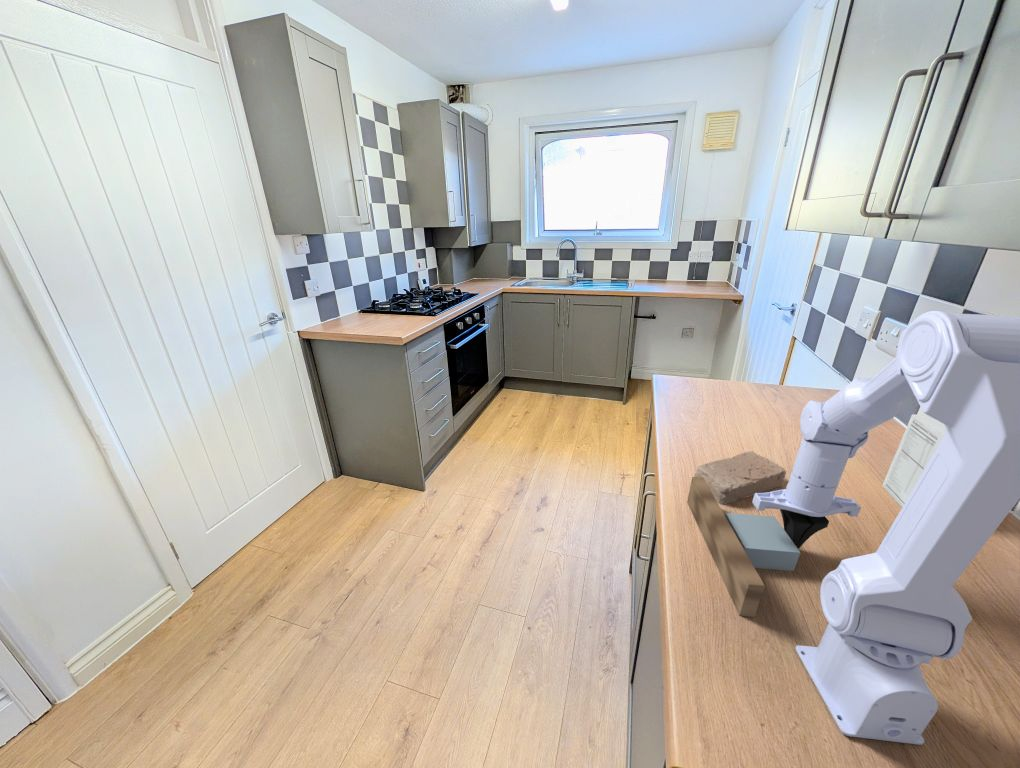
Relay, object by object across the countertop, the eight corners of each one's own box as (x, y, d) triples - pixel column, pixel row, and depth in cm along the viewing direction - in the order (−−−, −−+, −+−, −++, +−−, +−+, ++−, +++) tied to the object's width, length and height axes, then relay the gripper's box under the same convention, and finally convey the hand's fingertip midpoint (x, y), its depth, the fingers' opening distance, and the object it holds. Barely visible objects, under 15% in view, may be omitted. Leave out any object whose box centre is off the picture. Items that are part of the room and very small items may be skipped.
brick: (722, 507, 76) (727, 487, 74) (689, 482, 83) (693, 463, 81) (783, 488, 81) (789, 469, 79) (747, 466, 88) (752, 448, 86)
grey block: (793, 571, 61) (800, 552, 60) (739, 566, 62) (745, 548, 61) (769, 534, 69) (774, 516, 67) (721, 530, 70) (725, 512, 68)
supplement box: (971, 525, 70) (1017, 445, 63) (907, 515, 72) (945, 437, 66) (935, 492, 78) (973, 418, 72) (879, 484, 81) (911, 412, 74)
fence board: (754, 616, 54) (764, 585, 52) (739, 615, 55) (748, 584, 52) (697, 502, 76) (703, 477, 74) (687, 502, 77) (692, 477, 74)
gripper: (848, 464, 62) (823, 530, 67) (752, 459, 64) (735, 523, 69) (882, 492, 56) (851, 562, 61) (774, 486, 57) (753, 555, 63)
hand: (791, 544), depth 64 cm, fingers closed
